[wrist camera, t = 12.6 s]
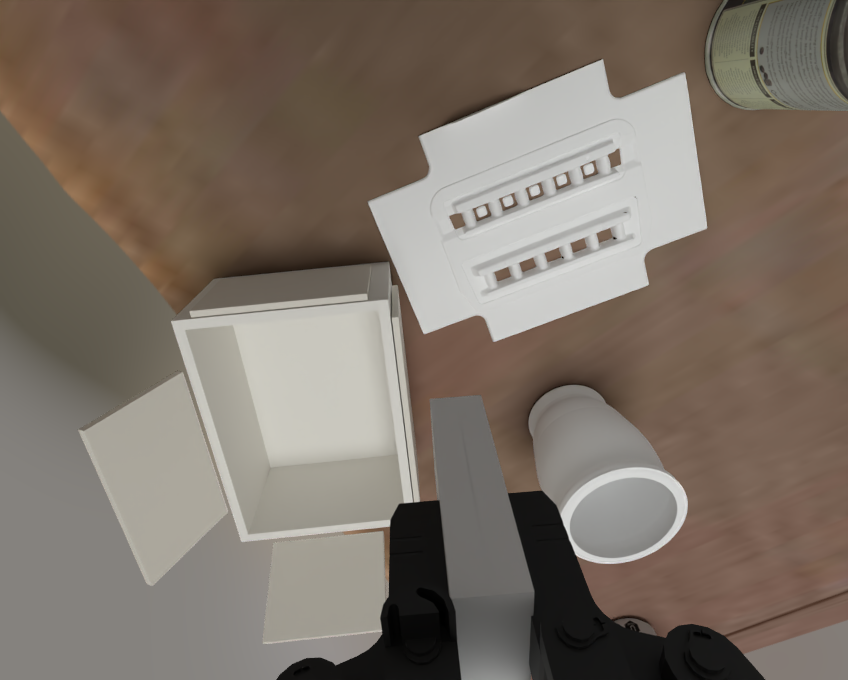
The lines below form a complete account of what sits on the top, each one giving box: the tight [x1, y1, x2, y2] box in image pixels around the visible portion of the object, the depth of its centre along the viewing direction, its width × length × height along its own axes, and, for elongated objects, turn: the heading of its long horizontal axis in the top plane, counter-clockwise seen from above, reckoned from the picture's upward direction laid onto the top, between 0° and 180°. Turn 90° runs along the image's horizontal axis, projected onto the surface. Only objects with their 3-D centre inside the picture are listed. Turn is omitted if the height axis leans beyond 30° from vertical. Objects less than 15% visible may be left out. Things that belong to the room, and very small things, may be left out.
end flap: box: [262, 531, 386, 644], centre depth 44 cm, size 8×10×1 cm
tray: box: [368, 59, 707, 342], centre depth 45 cm, size 20×28×4 cm
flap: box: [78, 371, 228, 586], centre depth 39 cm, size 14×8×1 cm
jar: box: [528, 385, 688, 564], centre depth 48 cm, size 11×10×15 cm
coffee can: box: [705, 0, 848, 111], centre depth 35 cm, size 10×10×14 cm
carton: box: [171, 262, 420, 542], centre depth 47 cm, size 23×17×10 cm
